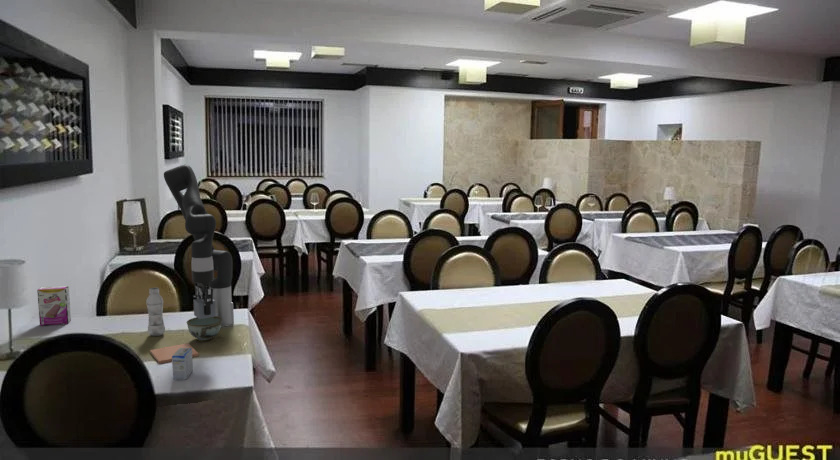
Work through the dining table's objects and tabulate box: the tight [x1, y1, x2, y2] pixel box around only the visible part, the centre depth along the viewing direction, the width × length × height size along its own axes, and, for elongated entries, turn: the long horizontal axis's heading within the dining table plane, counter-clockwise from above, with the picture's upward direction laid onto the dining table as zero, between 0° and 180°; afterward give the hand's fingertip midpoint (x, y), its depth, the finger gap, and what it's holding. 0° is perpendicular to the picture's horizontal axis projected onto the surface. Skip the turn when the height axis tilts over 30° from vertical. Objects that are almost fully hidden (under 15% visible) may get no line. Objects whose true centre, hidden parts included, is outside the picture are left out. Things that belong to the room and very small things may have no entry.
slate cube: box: [192, 298, 216, 319], centre depth 215 cm, size 6×6×6 cm
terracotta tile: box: [149, 342, 199, 364], centre depth 221 cm, size 14×14×1 cm
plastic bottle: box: [145, 287, 166, 337], centre depth 241 cm, size 6×7×20 cm
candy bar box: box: [36, 285, 72, 327], centre depth 255 cm, size 11×5×16 cm, turn 108°
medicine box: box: [171, 348, 194, 381], centre depth 200 cm, size 8×4×9 cm, turn 5°
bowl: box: [186, 316, 222, 342], centre depth 238 cm, size 14×13×8 cm
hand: (204, 312), depth 216 cm, fingers closed on slate cube, 6 cm apart
